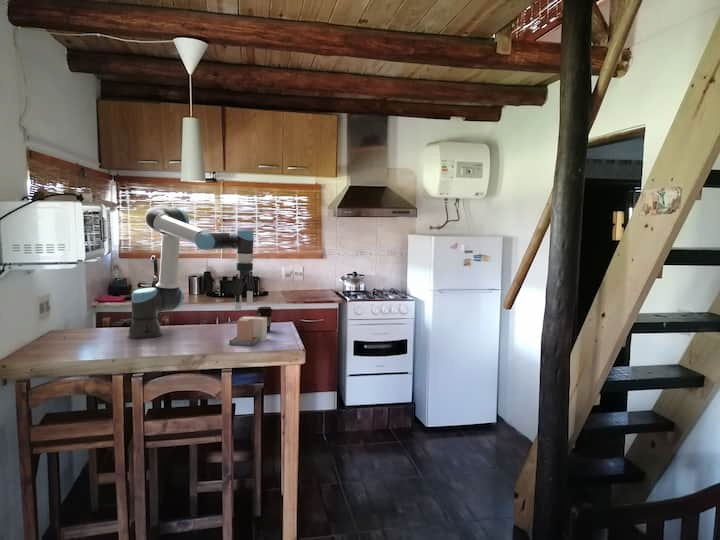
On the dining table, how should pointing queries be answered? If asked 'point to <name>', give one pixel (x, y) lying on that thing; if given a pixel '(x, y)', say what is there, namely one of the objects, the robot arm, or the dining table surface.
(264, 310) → the coffee cup
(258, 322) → the boxy square-sided block
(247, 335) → the stub
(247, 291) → the robot arm
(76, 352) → the dining table surface
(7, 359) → the dining table surface
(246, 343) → the tray
